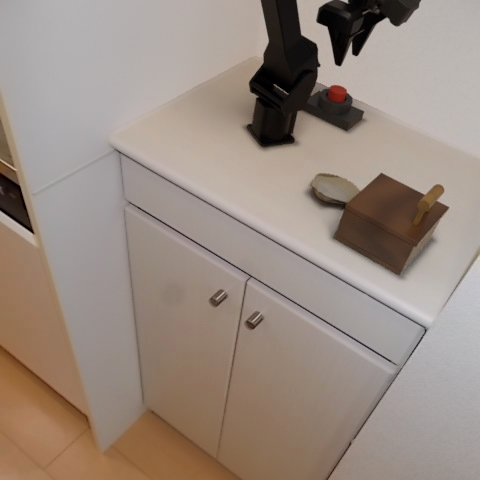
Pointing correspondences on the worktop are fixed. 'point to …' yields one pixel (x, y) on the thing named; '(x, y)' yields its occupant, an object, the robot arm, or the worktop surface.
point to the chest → (377, 242)
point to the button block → (334, 110)
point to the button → (337, 93)
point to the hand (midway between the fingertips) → (346, 60)
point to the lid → (399, 208)
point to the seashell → (333, 188)
